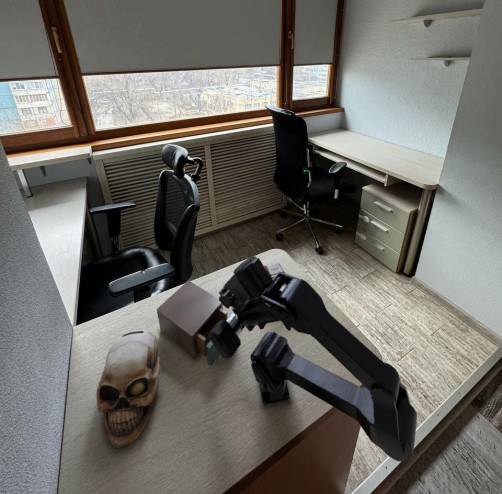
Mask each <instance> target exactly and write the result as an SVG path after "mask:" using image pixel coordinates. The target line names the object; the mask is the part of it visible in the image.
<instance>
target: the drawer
mask: <svg viewBox="0 0 502 494" xmlns="http://www.w3.org/2000/svg"><path fill="white" fill-rule="evenodd" d="M220 319H221V320H223V319H224V320H225V321H227V322H229V324H230V325H231V326H232V324H233V323H234V322H235V320H236V319H237V315H235V314H234V312H231V314H230V315H229V316H228V311H226V310H225V309H224V308H223V309H221V308H220V307H219V308H218V309H217V310H216V312H215V313H214V314H213V315H212V316H211V317H210V319H209V320H208V321H207V322H206V323H205V324H204V326H203V327H202V328H201V329H200V330H199V331H198V333H197V334H196V335H195V344H196V351H197V352H199V353H200V354H199V355H201V356H202V357H203V358H204V359H206V358H207V359H206V360H207V365H208V366H209V367H210V368H212V367H213V366H214V364H215V363H216V361H217V360H218V359H219V357H220V356H221V355H220V353H219V352H218V350H217V349H216V347H215V346H214V344H213V343H212V341H211V340H210V338H209V333H210V331H211V330H212V329H213V327H214V326H215V325H216V324H217V323H218V321H219V320H220Z"/></svg>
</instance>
